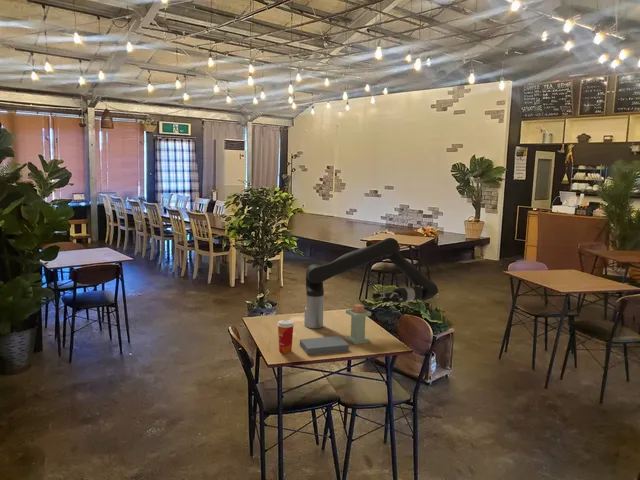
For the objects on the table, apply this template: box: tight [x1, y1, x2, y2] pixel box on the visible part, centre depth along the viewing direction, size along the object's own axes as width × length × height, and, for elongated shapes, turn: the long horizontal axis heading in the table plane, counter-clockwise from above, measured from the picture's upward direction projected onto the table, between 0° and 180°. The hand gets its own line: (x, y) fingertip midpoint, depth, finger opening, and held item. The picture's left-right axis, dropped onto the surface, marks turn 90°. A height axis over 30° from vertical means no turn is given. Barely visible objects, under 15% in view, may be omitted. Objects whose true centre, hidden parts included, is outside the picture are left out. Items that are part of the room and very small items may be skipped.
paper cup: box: [277, 319, 295, 355], centre depth 231 cm, size 8×8×14 cm
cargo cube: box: [352, 303, 365, 314], centre depth 248 cm, size 4×4×4 cm
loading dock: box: [299, 335, 350, 356], centre depth 237 cm, size 20×13×3 cm, turn 108°
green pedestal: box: [344, 308, 372, 345], centre depth 249 cm, size 9×9×15 cm
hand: (377, 298), depth 253 cm, fingers open, 8 cm apart
